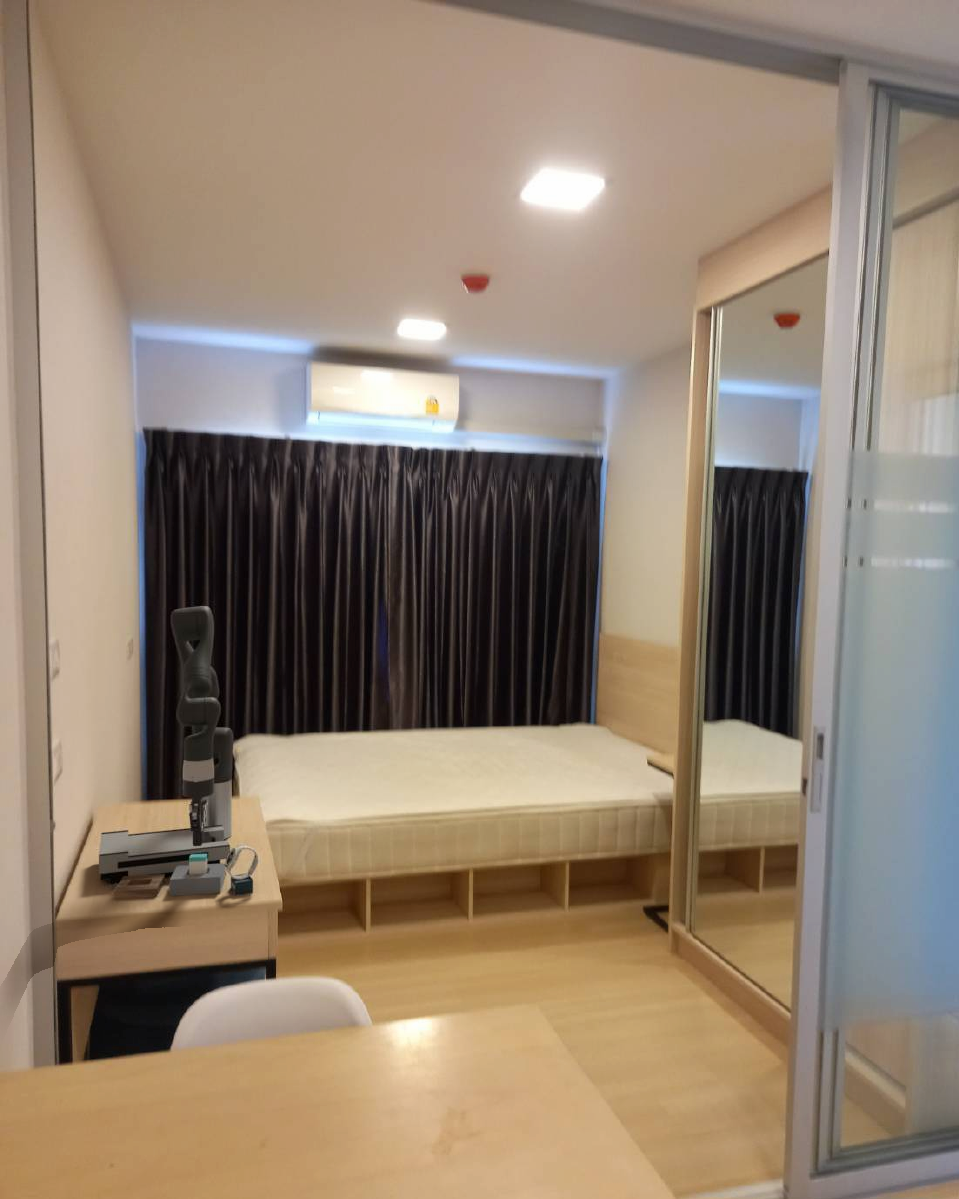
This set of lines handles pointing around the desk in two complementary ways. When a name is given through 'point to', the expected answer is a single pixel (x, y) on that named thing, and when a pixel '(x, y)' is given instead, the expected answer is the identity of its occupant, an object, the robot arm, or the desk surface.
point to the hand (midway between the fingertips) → (198, 843)
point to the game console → (156, 851)
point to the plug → (198, 864)
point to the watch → (241, 881)
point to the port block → (197, 880)
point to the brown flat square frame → (139, 886)
